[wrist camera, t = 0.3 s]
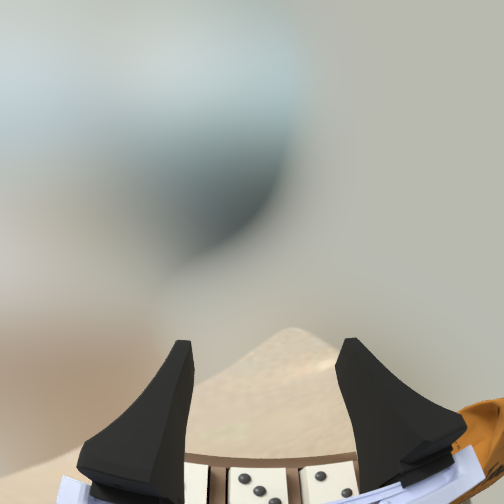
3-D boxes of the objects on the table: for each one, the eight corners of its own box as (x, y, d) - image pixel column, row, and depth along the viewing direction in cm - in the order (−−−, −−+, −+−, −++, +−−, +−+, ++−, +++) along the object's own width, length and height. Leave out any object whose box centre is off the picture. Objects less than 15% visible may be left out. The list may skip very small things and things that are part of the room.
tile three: (280, 515, 16) (289, 512, 15) (226, 516, 16) (230, 514, 14) (277, 474, 21) (285, 467, 19) (227, 473, 20) (231, 466, 19)
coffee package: (444, 515, 13) (590, 418, 3) (362, 531, 15) (542, 448, 4) (440, 457, 22) (557, 345, 11) (367, 461, 23) (498, 335, 13)
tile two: (346, 506, 17) (361, 500, 15) (300, 513, 17) (311, 510, 15) (339, 468, 21) (353, 460, 20) (296, 473, 21) (306, 465, 19)
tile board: (354, 516, 17) (367, 512, 15) (136, 515, 14) (130, 513, 13) (344, 460, 24) (355, 451, 22) (146, 452, 21) (141, 444, 20)
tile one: (204, 514, 16) (205, 512, 14) (150, 505, 15) (145, 502, 14) (207, 471, 20) (208, 464, 18) (156, 464, 19) (152, 455, 18)
